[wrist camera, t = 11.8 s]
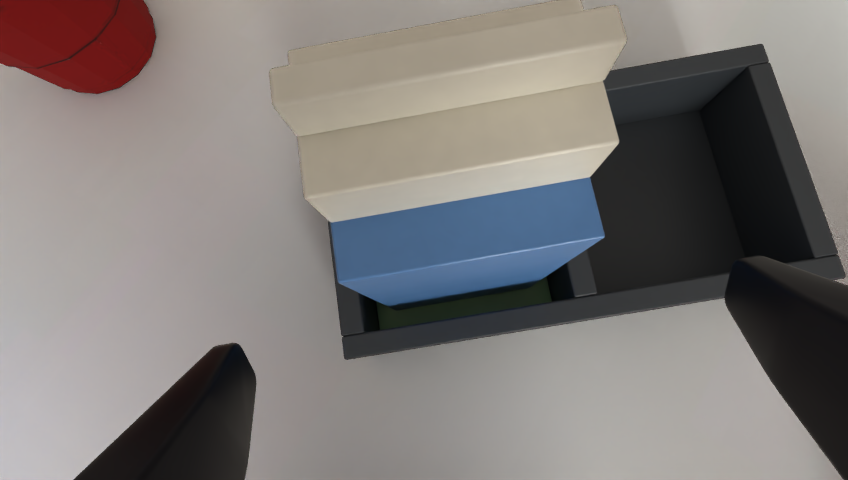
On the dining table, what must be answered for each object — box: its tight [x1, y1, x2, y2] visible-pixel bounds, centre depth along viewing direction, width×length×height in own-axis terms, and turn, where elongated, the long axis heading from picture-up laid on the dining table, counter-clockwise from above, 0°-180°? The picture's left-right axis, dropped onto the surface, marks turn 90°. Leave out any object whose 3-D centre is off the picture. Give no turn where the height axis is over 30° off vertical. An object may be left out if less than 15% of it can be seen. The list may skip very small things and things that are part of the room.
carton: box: [269, 0, 627, 310], centre depth 13 cm, size 6×6×13 cm
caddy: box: [328, 44, 846, 360], centre depth 18 cm, size 9×17×4 cm, turn 99°
